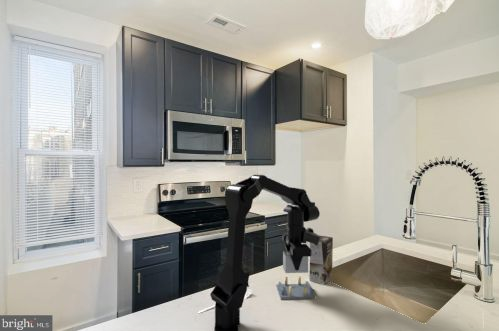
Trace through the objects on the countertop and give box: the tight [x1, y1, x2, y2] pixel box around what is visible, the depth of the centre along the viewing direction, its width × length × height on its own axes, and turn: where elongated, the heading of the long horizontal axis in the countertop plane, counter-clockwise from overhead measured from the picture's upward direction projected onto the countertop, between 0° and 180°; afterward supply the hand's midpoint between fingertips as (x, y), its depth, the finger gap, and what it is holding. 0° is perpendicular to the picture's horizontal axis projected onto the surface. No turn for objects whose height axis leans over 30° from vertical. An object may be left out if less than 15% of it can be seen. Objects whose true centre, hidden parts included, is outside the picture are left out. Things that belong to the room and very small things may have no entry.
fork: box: [197, 287, 253, 314], centre depth 84 cm, size 3×20×2 cm, turn 125°
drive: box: [282, 250, 309, 274], centre depth 91 cm, size 8×4×6 cm, turn 94°
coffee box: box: [308, 234, 334, 285], centre depth 101 cm, size 9×6×16 cm
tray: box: [275, 275, 317, 300], centre depth 91 cm, size 12×9×4 cm
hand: (295, 267), depth 91 cm, fingers closed on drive, 4 cm apart
